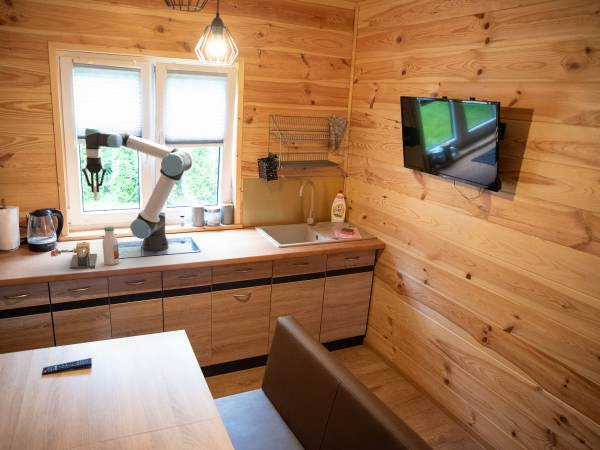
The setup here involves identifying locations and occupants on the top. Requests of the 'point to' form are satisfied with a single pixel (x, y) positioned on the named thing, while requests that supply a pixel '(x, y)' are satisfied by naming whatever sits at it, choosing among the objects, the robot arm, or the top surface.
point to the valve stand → (83, 257)
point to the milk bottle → (110, 247)
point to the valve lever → (59, 252)
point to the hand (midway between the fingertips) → (95, 197)
